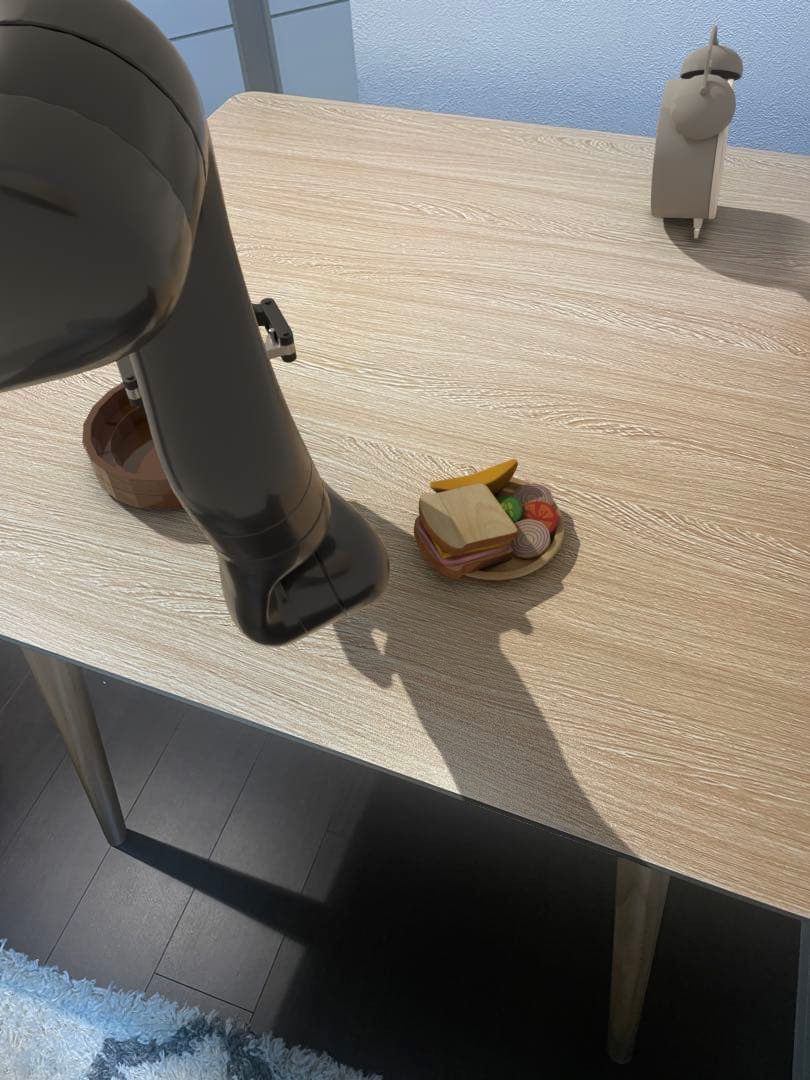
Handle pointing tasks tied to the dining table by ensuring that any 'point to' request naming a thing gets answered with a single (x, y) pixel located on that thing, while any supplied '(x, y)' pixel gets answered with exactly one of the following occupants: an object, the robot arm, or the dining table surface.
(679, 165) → the alarm clock
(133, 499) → the bowl
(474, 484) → the toy sandwich meal
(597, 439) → the dining table surface
